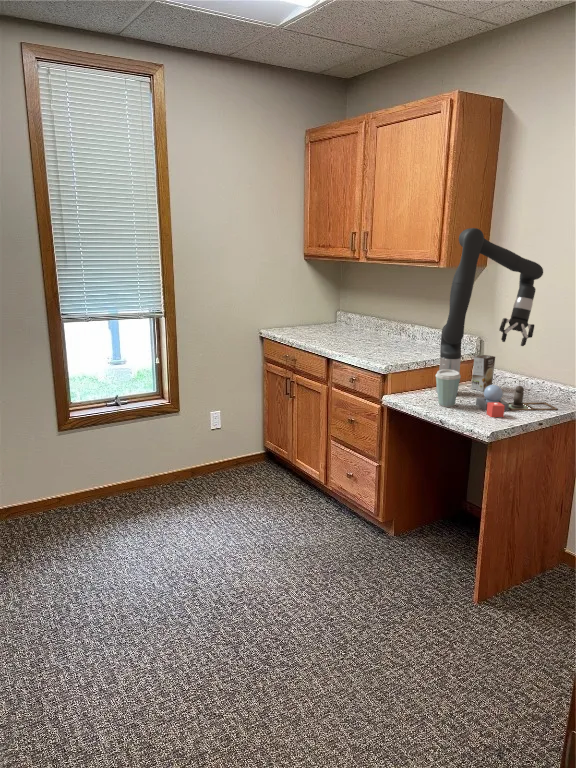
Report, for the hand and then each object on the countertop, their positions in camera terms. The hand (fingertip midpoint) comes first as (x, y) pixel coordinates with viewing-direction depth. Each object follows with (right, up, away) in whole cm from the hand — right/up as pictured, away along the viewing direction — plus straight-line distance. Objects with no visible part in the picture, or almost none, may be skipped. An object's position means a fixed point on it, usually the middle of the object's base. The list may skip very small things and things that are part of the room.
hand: (512, 343), depth 253 cm
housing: (-13, -28, -11) cm, 33 cm away
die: (-16, -31, -23) cm, 42 cm away
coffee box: (-7, -21, +21) cm, 30 cm away
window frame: (+3, -28, -10) cm, 30 cm away
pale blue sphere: (-13, -27, -11) cm, 32 cm away
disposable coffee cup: (-33, -28, -8) cm, 43 cm away
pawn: (-2, -28, -10) cm, 30 cm away
